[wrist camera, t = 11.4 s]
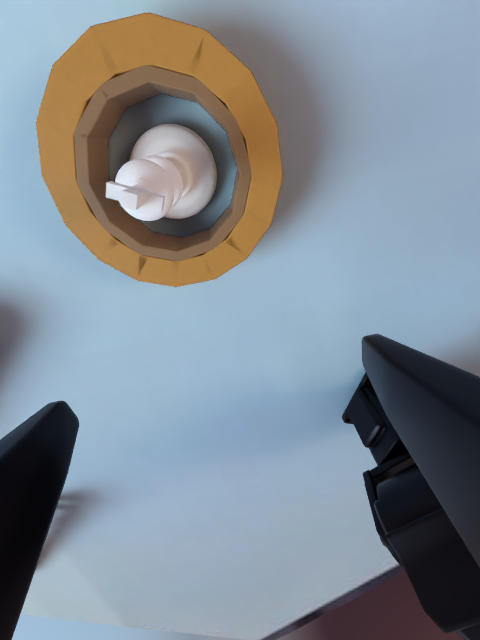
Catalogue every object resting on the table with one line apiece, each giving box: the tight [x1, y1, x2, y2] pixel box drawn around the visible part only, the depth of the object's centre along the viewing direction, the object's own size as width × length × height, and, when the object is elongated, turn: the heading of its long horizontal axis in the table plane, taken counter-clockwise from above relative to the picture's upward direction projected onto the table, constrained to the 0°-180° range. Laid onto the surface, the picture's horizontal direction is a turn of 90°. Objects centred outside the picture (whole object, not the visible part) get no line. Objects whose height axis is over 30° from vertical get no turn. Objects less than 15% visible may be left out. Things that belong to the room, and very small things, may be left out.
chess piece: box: [106, 124, 217, 221], centre depth 13 cm, size 5×5×10 cm
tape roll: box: [36, 13, 283, 287], centre depth 16 cm, size 12×12×3 cm
